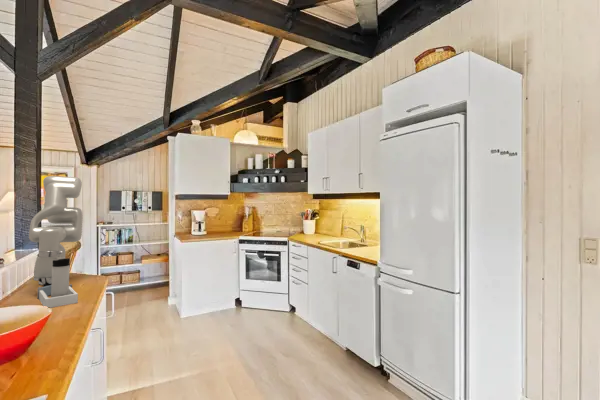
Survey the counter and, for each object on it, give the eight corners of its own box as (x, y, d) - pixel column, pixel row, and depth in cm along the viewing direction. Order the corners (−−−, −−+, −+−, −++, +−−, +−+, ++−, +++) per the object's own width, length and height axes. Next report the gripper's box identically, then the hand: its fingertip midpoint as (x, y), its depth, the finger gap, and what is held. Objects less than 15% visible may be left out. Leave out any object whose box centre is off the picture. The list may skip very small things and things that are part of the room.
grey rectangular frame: (38, 298, 141) (38, 288, 141) (71, 292, 150) (71, 284, 150) (45, 308, 128) (45, 298, 128) (80, 302, 138) (80, 292, 138)
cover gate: (36, 298, 140) (36, 287, 140) (59, 291, 151) (59, 281, 151) (38, 299, 140) (39, 288, 140) (61, 292, 151) (62, 281, 151)
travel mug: (58, 305, 133) (60, 260, 133) (46, 303, 134) (48, 258, 135) (72, 300, 139) (74, 257, 139) (60, 299, 141) (62, 256, 141)
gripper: (69, 252, 154) (67, 288, 154) (31, 253, 147) (30, 291, 147) (65, 254, 147) (64, 292, 147) (26, 256, 140) (24, 295, 140)
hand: (47, 291), depth 147 cm, fingers closed
